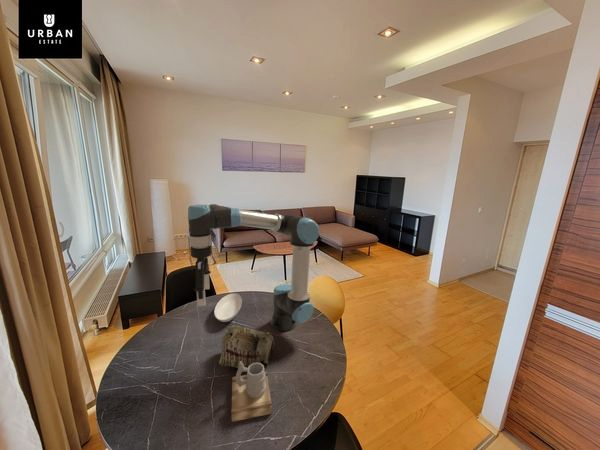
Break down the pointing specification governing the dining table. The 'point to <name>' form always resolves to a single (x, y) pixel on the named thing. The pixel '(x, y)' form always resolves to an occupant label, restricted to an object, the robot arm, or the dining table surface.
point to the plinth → (249, 402)
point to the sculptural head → (245, 347)
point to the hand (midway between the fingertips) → (204, 296)
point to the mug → (252, 379)
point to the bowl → (228, 307)
